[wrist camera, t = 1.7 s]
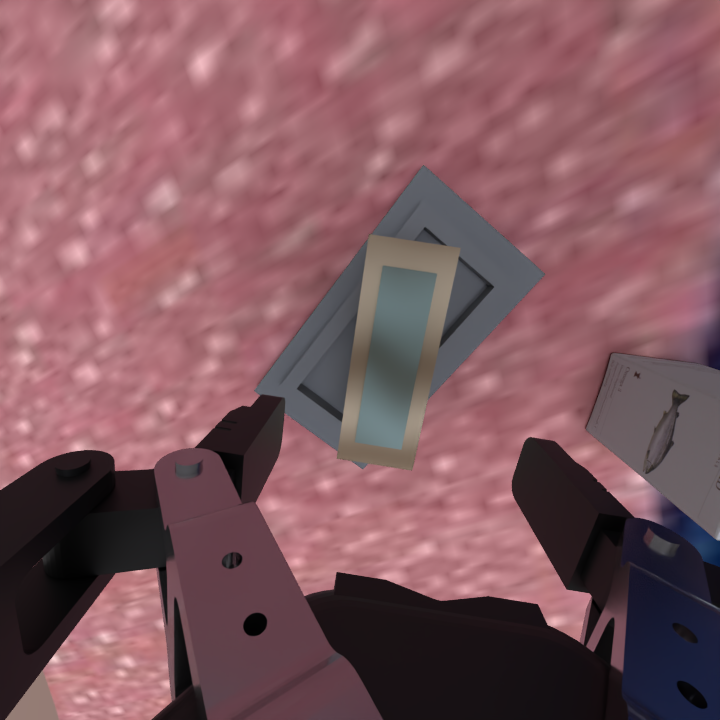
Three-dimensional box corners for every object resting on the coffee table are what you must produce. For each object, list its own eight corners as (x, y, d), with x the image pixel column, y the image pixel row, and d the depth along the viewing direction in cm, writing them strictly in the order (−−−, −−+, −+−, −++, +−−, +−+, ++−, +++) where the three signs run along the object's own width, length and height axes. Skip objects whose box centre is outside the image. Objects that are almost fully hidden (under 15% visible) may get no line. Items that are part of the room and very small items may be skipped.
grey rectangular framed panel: (421, 169, 25) (426, 158, 23) (538, 273, 27) (554, 274, 24) (258, 385, 31) (247, 397, 28) (363, 461, 33) (362, 479, 30)
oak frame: (371, 240, 24) (368, 233, 18) (441, 250, 24) (461, 247, 18) (345, 418, 28) (336, 460, 22) (405, 427, 28) (412, 472, 22)
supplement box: (608, 350, 28) (779, 417, 16) (699, 362, 28) (939, 440, 16) (581, 430, 30) (713, 542, 18) (665, 442, 30) (855, 563, 18)
